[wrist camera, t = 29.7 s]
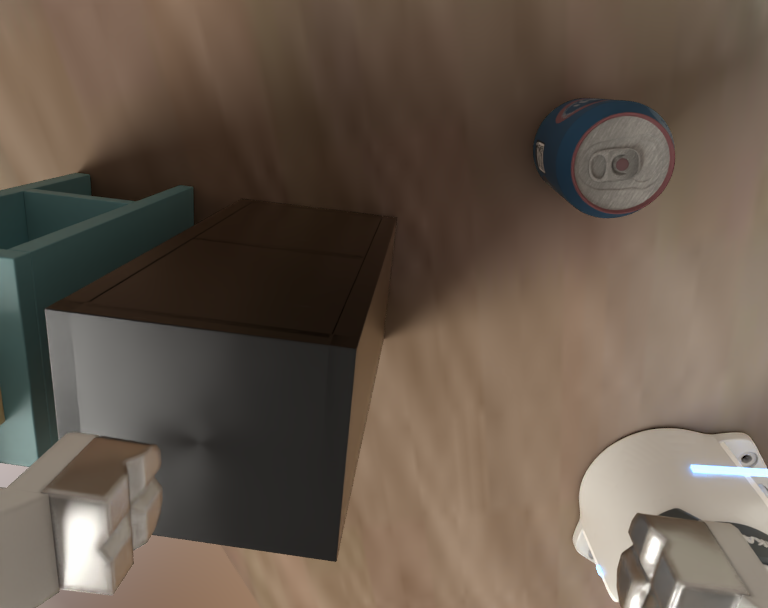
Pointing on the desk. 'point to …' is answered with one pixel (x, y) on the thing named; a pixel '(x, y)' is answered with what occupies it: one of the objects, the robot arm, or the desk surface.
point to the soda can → (605, 155)
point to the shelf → (237, 369)
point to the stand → (61, 283)
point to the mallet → (1, 410)
